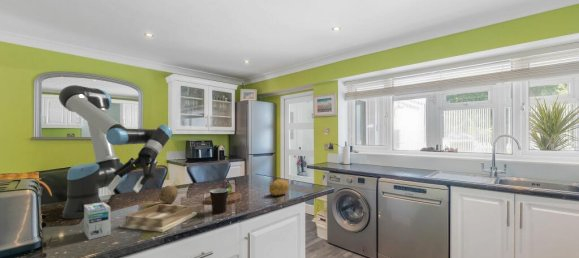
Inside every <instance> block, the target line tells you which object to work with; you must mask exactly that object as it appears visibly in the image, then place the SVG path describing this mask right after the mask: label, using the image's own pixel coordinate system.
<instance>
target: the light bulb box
mask: <svg viewBox="0 0 579 258" xmlns="http://www.w3.org/2000/svg"><path fill="white" fill-rule="evenodd" d="M83 220H84V221H83V222H84V223H83V224H84V227H83V230H84V234H85V236H86V238H87V239H88V240H89V241H90V240H94V239H98V238H102V237H106V236H111V206H110V204H109V205H108V204H107V203H106V202H104V201H101V202H100V203H94V204H87V205H84V217H83Z"/></svg>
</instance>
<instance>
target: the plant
mask: <svg viewBox="0 0 579 258" xmlns="http://www.w3.org/2000/svg"><path fill="white" fill-rule="evenodd" d="M225 183H227V180H226V179H224V180H223V182H222V185H221V184H219V185H218V186H217V187H216V189H228V199H227V205H231V204H233V205H234V204H236V203H238V202H241V200H242V198H243V193H240V192H237V191H233V190H232V189H233V185H231V184H228V185H227V186H226V185H225ZM228 187H229V188H228ZM204 204H205V205H212V204H211V196H210V195H208V196H206V197H204Z"/></svg>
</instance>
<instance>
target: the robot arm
mask: <svg viewBox="0 0 579 258" xmlns="http://www.w3.org/2000/svg"><path fill="white" fill-rule="evenodd" d="M58 100H59V102H60V104H61V105H62V107H63V108H65V109H66V110H68V111H69V112H73V113H76V114H77V115H78V116H80V117H81V118H82V119H84V120H85V121H86V122H87V126H88V130H89V131H88V132H89V134H90V138H91V144H92V149H93V154H94V156H95V161H94V162H93V163H92V162H91V163H85V164H84V163H83V164H77V165H75V166H72V167H70V168H69V169H68V170H67V176H66V179H67V185H66V186H67V188H66V189H67V193H66V195H67V196H66V197H67V200H66V203H65V205H64V208H63V211H62V217H61V218H63V219H67V220H75V219H84V205H87V204H94V203H100V202H102V201H101V200H102V199H101V198H100V193H99V192H100V191H99V189H103V188H107V189H108V190H109V191H111V192H114V190H115V189H116V188H117V186H118V185H120V184H122V183H123V182H124V181H125V180H126V179H127V176H128V174H129V173H131V172H133V171H134V170H137V169H142V171H143V175H141V176H140V178H138V181H137V182H136V183H135V184H134V186H133V187H132V190H133V191H134V192H135V193H137V194H138V193H139V192H140V190H141V189H142V187H143V186H144V185H145V184H146V183H147V182H148V180H150V179H153V178H154V177H155V172H156V167H157V164H158V160H157V157H158V155H159V154H160V152H161V151H162V150H163V148H164V147H165V146H166V144H168V141H169V140H170V139H171V137H172V136H173V130H172V129H171V128H170V127H169V126H168V125H166V124H161V125H160V124H159V126H158V127H157V128H153V129H150V128H127V127H125V126H124V125H122V124H121V123H120V122H117V121H116V120H115V119H114V118H112V117H111V116H109V115H108V113H109V109H110V108H111V107H112V106H111V105H112V98H111V96H110V94H109V93H108V92H107V91H105V90H103V89H99V88H96V87H95V88H94V87H88V86H87V87H86V86H83V85H82V86H81V85H77V84H75V85H74V84H73V85H68V86H66V87H63V88H62V89H61V91H60V92H59V94H58ZM141 144H144V145H143V147H142V148H141V149H140V150H139V152H138V154H137V157H136V158H133V157H131V158H130V159H129V160H128V161H127V162H125V163H124V162H121V161H120V160H121V159H120V158H119V156H118V157H117V156H116V154H115V149H114V146H116V145H117V146H124V145H126V146H128V145H141Z"/></svg>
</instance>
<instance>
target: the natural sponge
mask: <svg viewBox="0 0 579 258" xmlns="http://www.w3.org/2000/svg"><path fill="white" fill-rule="evenodd" d="M178 194H179V191H178V188H177V187H176V186H174V185H169V184H168V185H166V186H164V187H163V188H162V189H161V190H160V192H159V200H160V201H162V202H165V204H168V205H173V203H174V202H175V200H176V199H177V197H178Z"/></svg>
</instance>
